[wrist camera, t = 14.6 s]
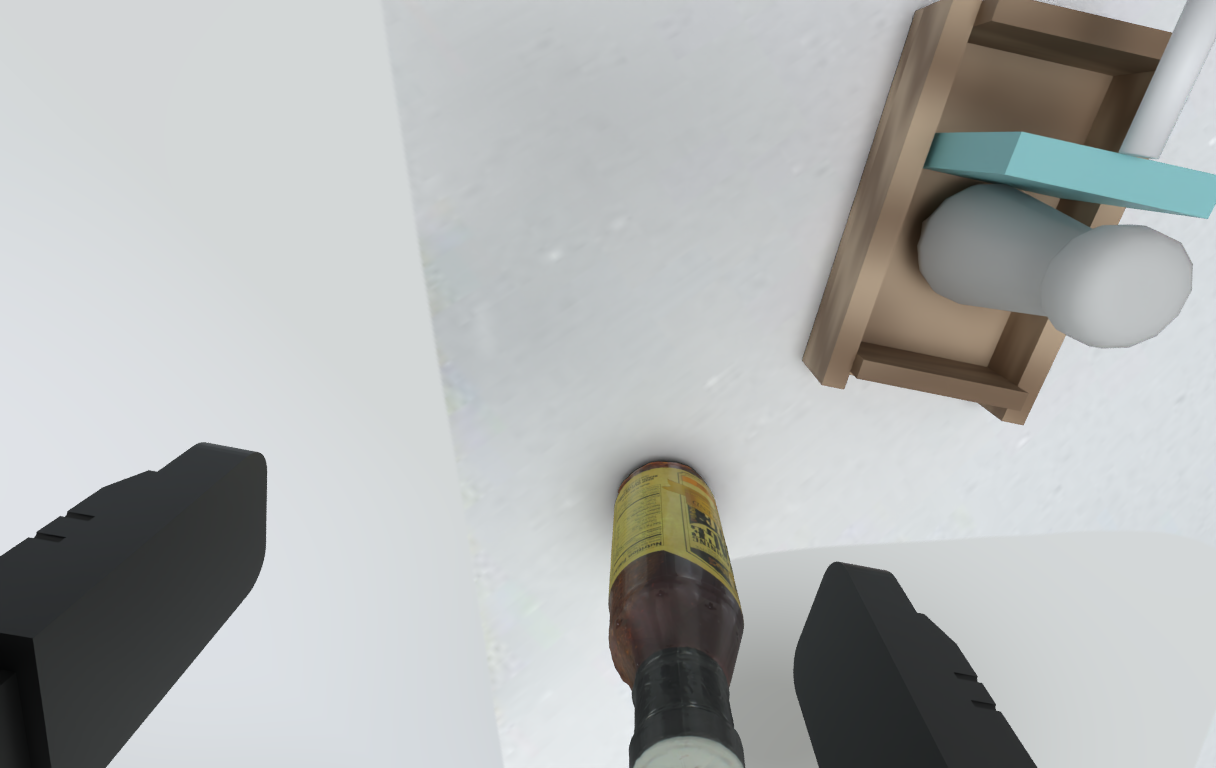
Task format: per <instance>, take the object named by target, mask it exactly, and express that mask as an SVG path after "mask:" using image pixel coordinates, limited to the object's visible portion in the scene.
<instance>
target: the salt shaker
mask: <svg viewBox="0 0 1216 768" xmlns="http://www.w3.org/2000/svg"><path fill="white" fill-rule="evenodd" d="M917 250H918V263H919V271H920V272H921V274H922V275H923V276H924V278H925V279H926V281H927V282H928V284H929V285H930V287H931V288H932V289H933V290H934V291H935V292H936V293H937V294H939V295H941V296H943V297H945V298H948V299H950V300H952V301H954V302H956V303H958V304H963V305H970V306H977V307H984V308H991V309H998V310H1005V311H1012V312H1019V313H1026V314H1033V315H1040V316H1047V317H1048V318H1049V320H1050V322H1051V323H1052V325H1053V326H1054V327H1055V329H1056V330H1058V331H1060V332H1062V333H1063V334H1065V335H1067V336H1069V337H1071V338H1073V339H1075V340H1077V341H1079V342H1081V343H1083V344H1086V345H1088V346H1092V347H1097V348H1127V347H1131V346H1133V345H1136V344H1138V343H1141V342H1143V341H1146V340H1148V339H1150V338H1153V337H1155V336H1157V335H1158V334H1159V333H1160V332H1161V331H1162V330H1163V329H1164V328H1165V327H1166V326H1168V325H1169V324H1170V323H1171V322H1172V321H1173V320H1174V319H1175V318H1176V317H1177V316H1178V315H1179V313H1180V311H1181V309H1182V307H1183V306H1184V304H1185V302H1186V300H1187V298H1188V296H1189V294H1190V293H1191V291H1192V269H1193V264H1192V262H1191V260H1190V258H1189V256H1188V254H1187V253H1186V251H1185V249H1184V247H1183V245H1182V243H1181V242H1179V241H1177V240H1175V239H1173V238H1170V237H1168V236H1166V235H1164V234H1162V233H1160V232H1158V231H1156V230H1154V229H1152V228H1149V227H1147V226H1142V225H1102V226H1099V227H1096V228H1094V229H1092V228H1090V227H1088V226H1086V225H1085V224H1083V223H1081V222H1079V221H1077V220H1075V219H1073V218H1071V217H1069V216H1068V215H1066V214H1064V213H1062V212H1060V211H1058V210H1056V209H1054V208H1053V207H1051V206H1049V205H1047V204H1045V203H1043V202H1041V201H1039V200H1037V199H1036V198H1034V197H1032V196H1030V195H1028V194H1026V193H1024V192H1022V191H1019V190H1017V189H1015V188H1013V187H1011V186H1009V185H1007V184H978V185H972V186H970V187H968V188H966V189H964V190H962V191H960V192H958V193H956V194H954V195H952V196H950V197H948V198H946V199H945V200H944V201H943V202H942V203H941V205H940V206H939V207H938V208H937V209H936V210H935V211H934V212H933V213H932V214H931V215H930V217H928V218H927V219H926V220H924V221H923V222H922V229H921V236H920V239H919V242H918V245H917Z"/></svg>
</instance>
